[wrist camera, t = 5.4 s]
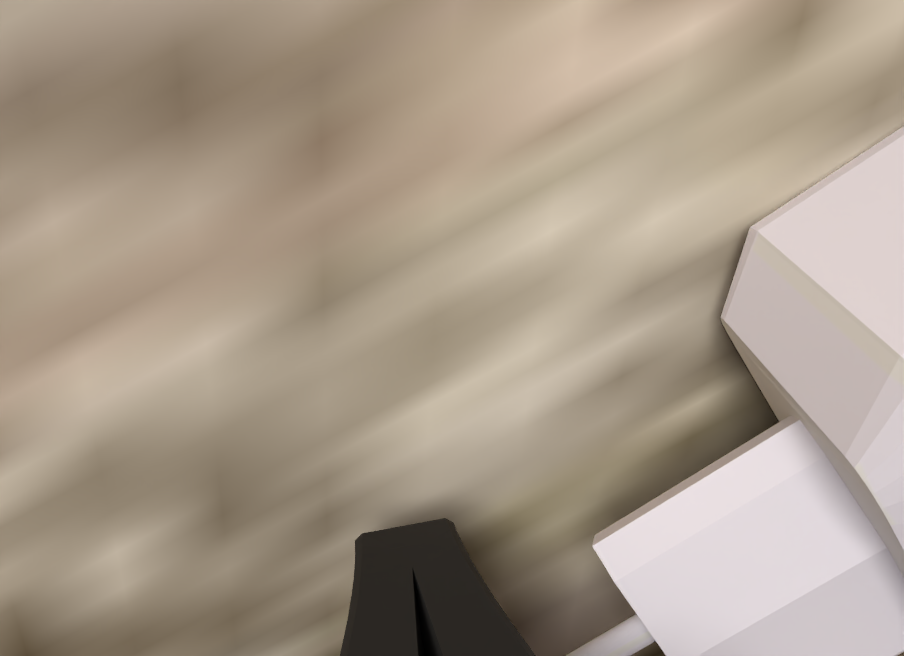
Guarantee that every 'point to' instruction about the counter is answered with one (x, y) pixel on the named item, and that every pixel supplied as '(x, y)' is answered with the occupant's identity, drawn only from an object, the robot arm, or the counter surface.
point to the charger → (792, 450)
